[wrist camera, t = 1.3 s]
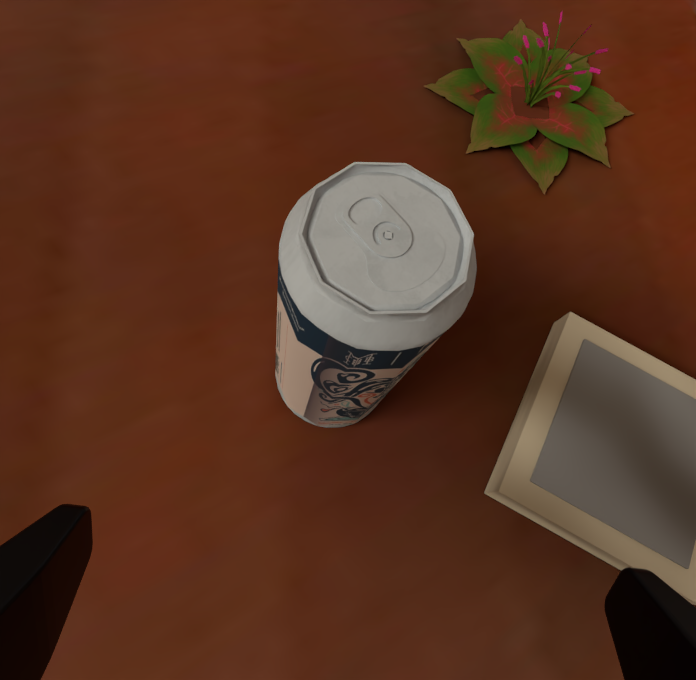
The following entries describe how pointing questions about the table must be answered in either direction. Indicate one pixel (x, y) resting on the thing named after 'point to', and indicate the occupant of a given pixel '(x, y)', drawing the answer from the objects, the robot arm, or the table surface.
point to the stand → (606, 453)
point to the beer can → (366, 287)
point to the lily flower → (532, 100)
